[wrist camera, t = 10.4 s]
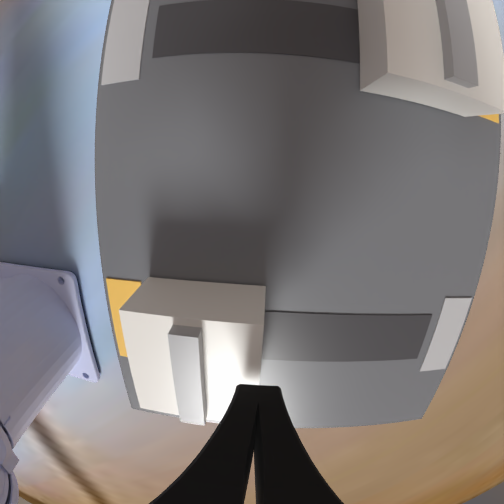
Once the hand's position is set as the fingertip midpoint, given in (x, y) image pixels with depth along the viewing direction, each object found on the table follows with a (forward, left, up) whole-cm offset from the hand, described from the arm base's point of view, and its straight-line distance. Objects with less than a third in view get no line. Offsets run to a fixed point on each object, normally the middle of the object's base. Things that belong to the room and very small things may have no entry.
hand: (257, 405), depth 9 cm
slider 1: (-2, 0, -4) cm, 5 cm away
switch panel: (+2, +7, -6) cm, 9 cm away
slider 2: (+6, +13, -4) cm, 15 cm away
